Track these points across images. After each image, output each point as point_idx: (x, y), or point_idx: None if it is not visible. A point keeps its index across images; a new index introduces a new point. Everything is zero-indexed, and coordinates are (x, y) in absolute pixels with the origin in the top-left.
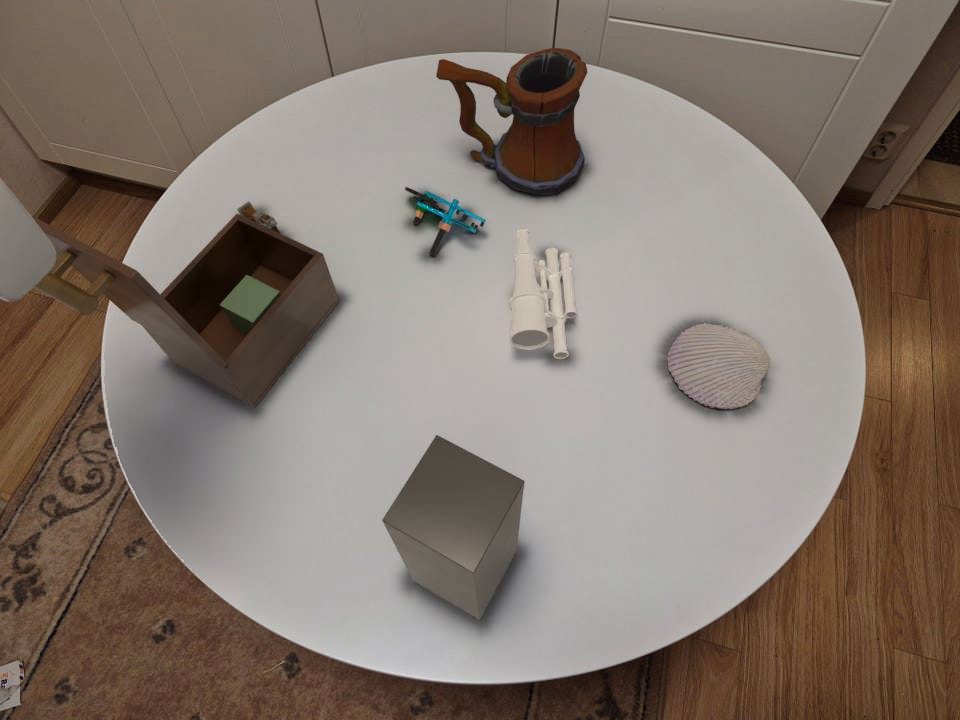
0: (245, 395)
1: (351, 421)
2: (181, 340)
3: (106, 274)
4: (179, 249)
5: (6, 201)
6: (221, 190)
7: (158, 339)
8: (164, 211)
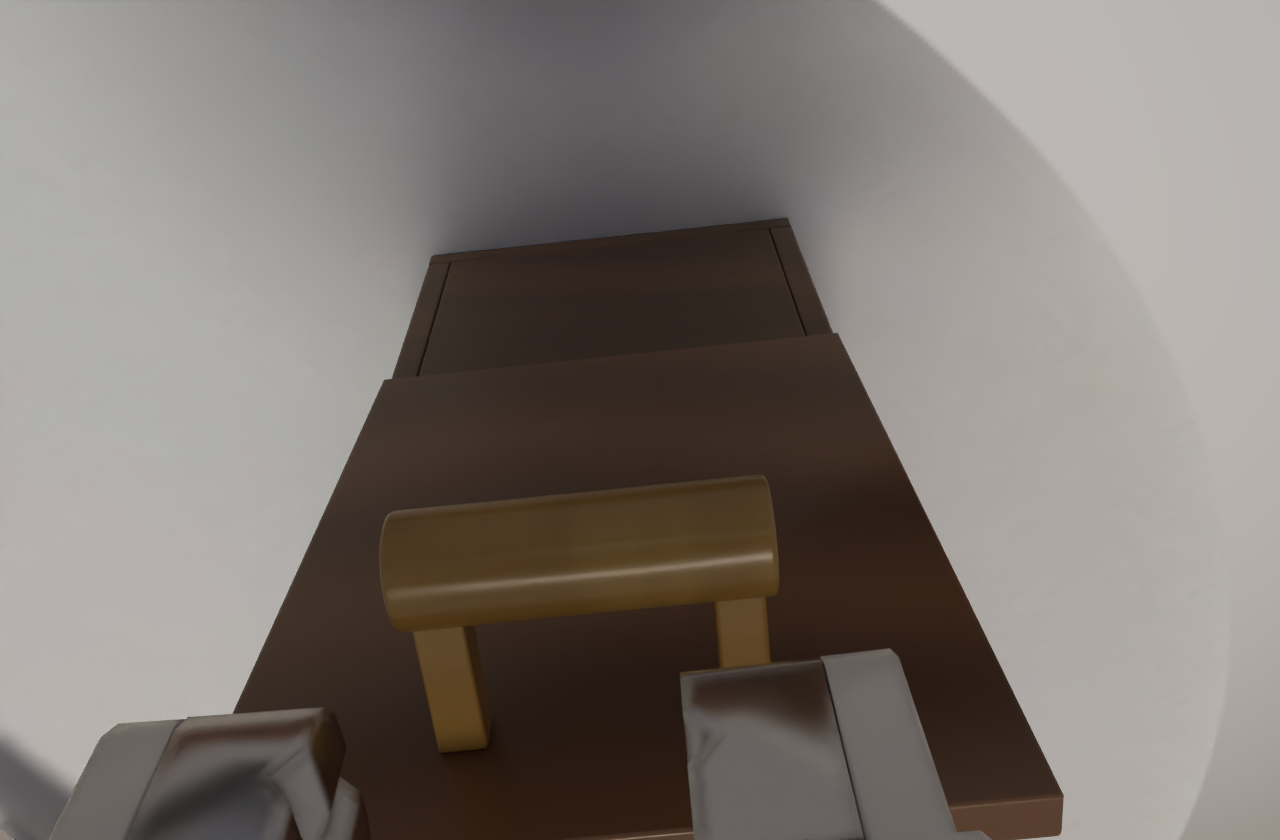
0: (424, 291)
1: (166, 386)
2: (493, 421)
3: (452, 741)
4: (1071, 504)
5: None
6: (1093, 699)
7: (769, 298)
8: (1214, 569)
